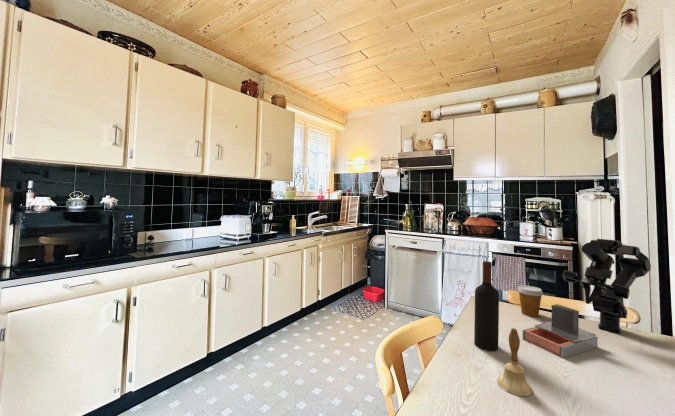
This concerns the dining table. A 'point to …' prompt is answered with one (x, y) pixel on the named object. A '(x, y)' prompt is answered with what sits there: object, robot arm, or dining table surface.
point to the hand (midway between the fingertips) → (587, 303)
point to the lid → (565, 324)
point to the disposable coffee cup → (530, 300)
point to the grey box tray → (557, 342)
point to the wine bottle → (486, 312)
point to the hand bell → (514, 370)
